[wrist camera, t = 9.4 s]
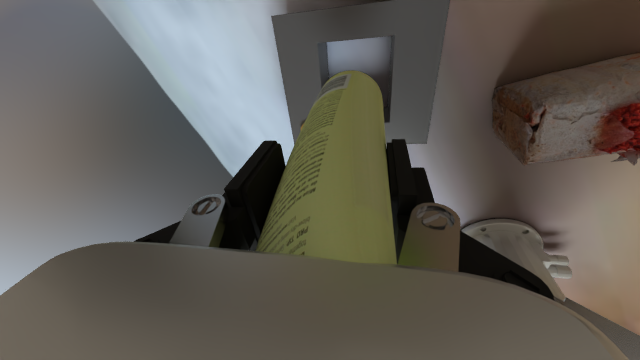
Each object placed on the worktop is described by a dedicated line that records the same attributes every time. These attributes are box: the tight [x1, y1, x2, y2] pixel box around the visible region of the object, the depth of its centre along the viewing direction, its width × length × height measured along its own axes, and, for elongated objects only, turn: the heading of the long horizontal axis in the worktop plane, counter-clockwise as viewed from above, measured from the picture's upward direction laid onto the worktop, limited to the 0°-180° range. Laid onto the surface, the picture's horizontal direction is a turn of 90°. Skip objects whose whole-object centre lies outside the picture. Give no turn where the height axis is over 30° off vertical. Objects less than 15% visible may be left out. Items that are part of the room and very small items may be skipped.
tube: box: [255, 71, 397, 264], centre depth 11 cm, size 6×5×20 cm
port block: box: [271, 0, 450, 145], centre depth 26 cm, size 15×13×5 cm
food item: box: [492, 53, 640, 165], centre depth 22 cm, size 14×8×10 cm, turn 109°
